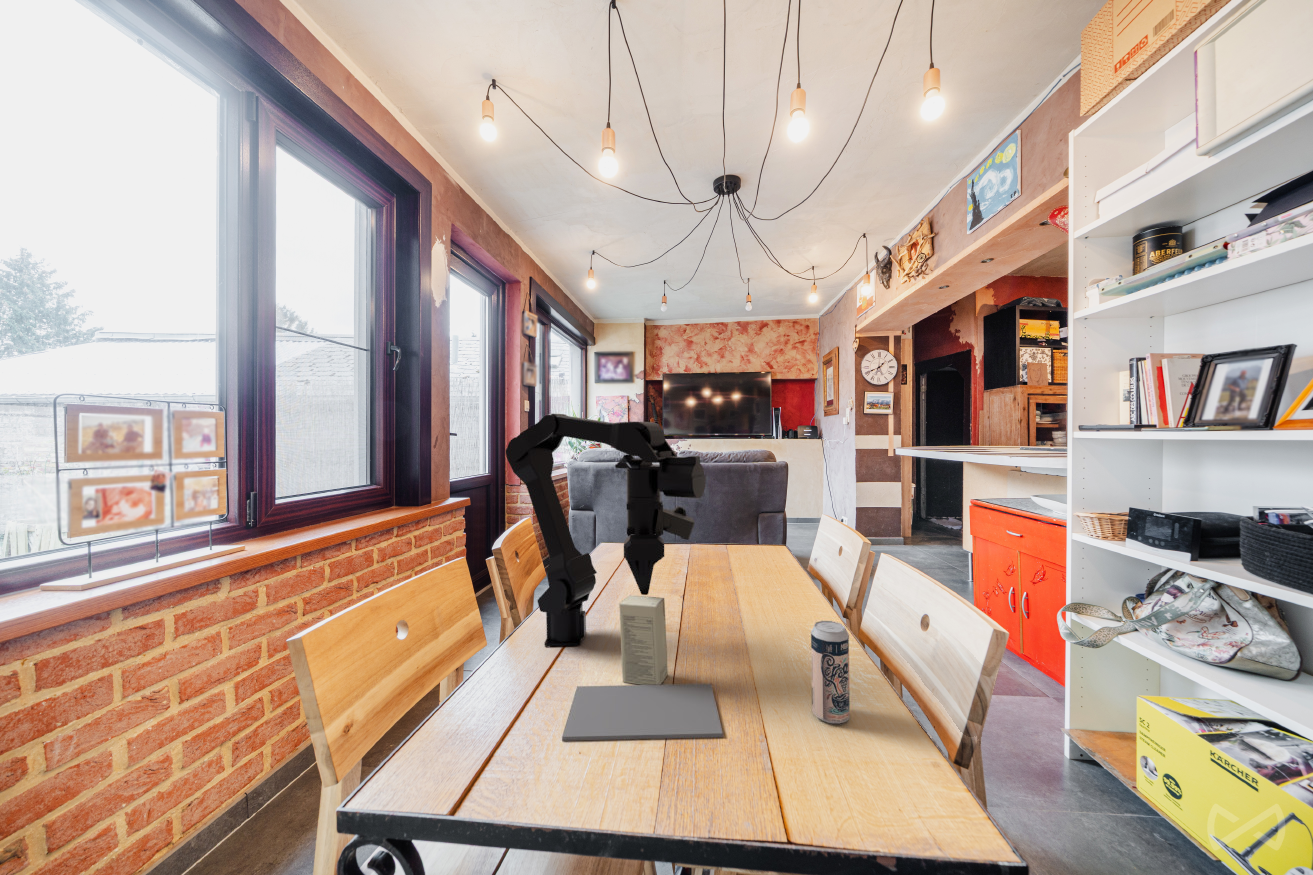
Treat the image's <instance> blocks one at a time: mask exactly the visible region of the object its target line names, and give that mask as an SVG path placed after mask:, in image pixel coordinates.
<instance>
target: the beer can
mask: <svg viewBox="0 0 1313 875" xmlns="http://www.w3.org/2000/svg"><path fill="white" fill-rule="evenodd" d="M849 639H850V634H849V632H848V630H847V628H846V626H844V625H843V624H842V623H840V622H836V621H832V620H821V621H815V622H814V625H813V628H812V629H811V630H810V641H811V642H810V647H811V648H810V650H811V652H810V655H811V656H810V657H811V661H810V662H811V705H812V706H811V710H812V713H813V715H815V717H817V718H818V719H819V720H821V721H822V722H824V723H827V724H832V725H840V724H842V723H845V722H847V721H848V720H849V719H850V718H851V714H850V712H851V710H850V702H851V701H850V652H849V651H850V648H849V647H850V640H849Z"/></svg>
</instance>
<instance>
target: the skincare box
mask: <svg viewBox="0 0 1313 875" xmlns="http://www.w3.org/2000/svg"><path fill="white" fill-rule="evenodd" d="M618 605H619V607H618V608H619V625H620V626H619V627H620V628H619V629H620V648H621V673H622V682H623V683H629V684H633V685H663V682H664V681H665V679H666V677H667V675H668V672H669V670H668V651H667V650H668V649H667V648H668V647H667V627H666V624H667V623H666V606H665V605H666V604H665V597H659V596H658V597H657V596H647V595H632V594H629V595H628V596H627V597H626V598H624V599H623V600H621V601H620V603H619V604H618Z"/></svg>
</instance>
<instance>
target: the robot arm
mask: <svg viewBox="0 0 1313 875" xmlns="http://www.w3.org/2000/svg"><path fill="white" fill-rule="evenodd" d="M564 438H572V439H577V440H582V441H589V442H594V443H600V444H605V445H607V446H610V447H612V448H613V449H614V450H616V451H618V452H622V453H624V455H623V456H622V458H621V459H620V460H619V461H618V462H617V463H615V464H614V468H615V469H619V470H620V469H623V470H624V469H625V470H626V510H627V512H626V514H627V515H626V516H627V517H626V519H627V524H626V535H627V538H626V539H625V540H624V542H623V558H624V559H625V561H626V563H627V565H628V567H629V569H630V571H631V574H632V576H633V578H634V580H635V582H636V584H637V587H638V590H639V592H640V594H641V596H648V595H649V592H650V587H651V582H652V577H653V576H652V575H653V572H654V566H655V565H656V564H657V563H658V562H659V561H660V560H662V559H664V558H665V542H664V539H663V538H662V537H661V536H663V535H664V532H666V533H669V534H673V535H675V536H678V537H680V538H681V539H683V540H685V541H686V540H687V541H689V540H690V537H691V535H692V532H693V529H694V528H695V524H696V521H695V520H694V518H692V517H691V516H687V511H686V509H685V508H684V507H682V506H679V505H676V507H675V508H673V510H671V509H667V508H664V504H663V500H661V498H662V496H661V493H662V494H663V495H664V496H665V497H668V498H684V499H685V498H687V499H701V498H702V496H703V495H704V493H705V489H706V484H707V483H706V481H707V480H706V479H707V477H706V474H705V471H704V467H703V465H702V464H701V457H700V455H689V456H678V455H677V454H676V453H675V451H674V449H672V447H671V445H670V444H669V442H667V440H666V437H665V433H664V430H663V428H662V427H661V425H660V424H658V423H656V422H654V421H653V422H652V421H622V422H620V421H619V422H609V421H602V420H595V419H589V418H582V417H575V416H571V415H567V414H564V413H547V414H546V415H544V416H543V417H542V418H541V419H540V420H539V421H538V422H536V423H535V424H533V425H531V426H530V427H528V428H526V429H524V430H522V432H520V433H519V434H518V435H517V436H515V437H513V438H512V439H511V440H510V441H509V442H508V444H507V447H506V448H505V457H506V460H507V462H508V464H509V466H510V468H511V470H512V472H513V474H514V475H515V476H516V477H518V478H519V479H520V480H521V482H523V483H524V484H525V487H526V489H527V492H528V495H529V498H530V502H531V504H532V507H533V510H534V511H533V512H534V515H535V518H536V520H537V523H538V526H539V530H540V532H541V534H542V538H543V542H544V544H545V547H546V551H547V554H548V556H549V559H548V566H547V573H546V577H547V583H548V587H547V589H546V590H545V591H544V592H543V593H542V594H541V595H540V596H539V597H538V599H537V605H538V608H539V611H540V612H542V613H546V614H545V615H546V616H545V619H546V639H545V640H544V643H543V645H544V647H557V646H558V647H561V646H562V647H568V646H572V647H573V646H580V645H581V644H582V641H583V639H584V638H585V637H586V633H587V612H586V610H583V603H584V602H587V601H588V600H589V597H590V594H591V593H592V591H593V590H594V588H595V585H596V583H597V578H596V574H597V573H598V572H597V570H596V569H595V567H594V565H593V561H592V557H591V555H590V553H589V552H586V553H583V554H582V553H581V552H580V551H579V550H578V549H577V548H576V545H575V543H574V541H573V540H574V539H573V537H572V535H571V532H570V529H569V525H568V523H567V520H566V516H565V514H564V510H563V508H562V505H561V503H560V502H561V501H560V499H559V496H558V493H557V489H556V487H555V484H554V481H553V478H552V474H553V470H554V454H553V453H554V452H555V451H556V450H557V449H558V448H559V447H560V445H561V444H562V441H563V439H564ZM635 457H638V458H635ZM653 463H655V464H653ZM657 463H658V464H657Z"/></svg>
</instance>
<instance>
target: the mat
mask: <svg viewBox="0 0 1313 875" xmlns="http://www.w3.org/2000/svg"><path fill="white" fill-rule="evenodd" d="M574 692H575V693H574V696H573V698H572V703H571V704H570V708H569V713H568V716H567V719H566V722H565V726H564V729H563V733H562V736H561V740H562V741H563V742H567V741H568V742H569V741H570V742H571V741H572V742H573V741H575V742H576V741H611V740H619V741H620V740H652V739H653V740H656V739H658V740H659V739H660V740H661V739H662V740H663V739H701V738H703V739H706V738H710V739H711V738H724V737H723V736H724V733H723V728H722V723H721V721H720V720H721V719H720V716H719V711H718V707H717V702H716V698H715V694H714V690H713V686H712V683H681V684H680V683H679V684H677V683H675V684H674V683H673V684H670V683H669V684H668V683H667V684H661V685H642V684H627V685H626V684H625V685H622V684H621V685H620V684H619V685H585V686H584V685H580V686H576V688H575V691H574Z"/></svg>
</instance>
